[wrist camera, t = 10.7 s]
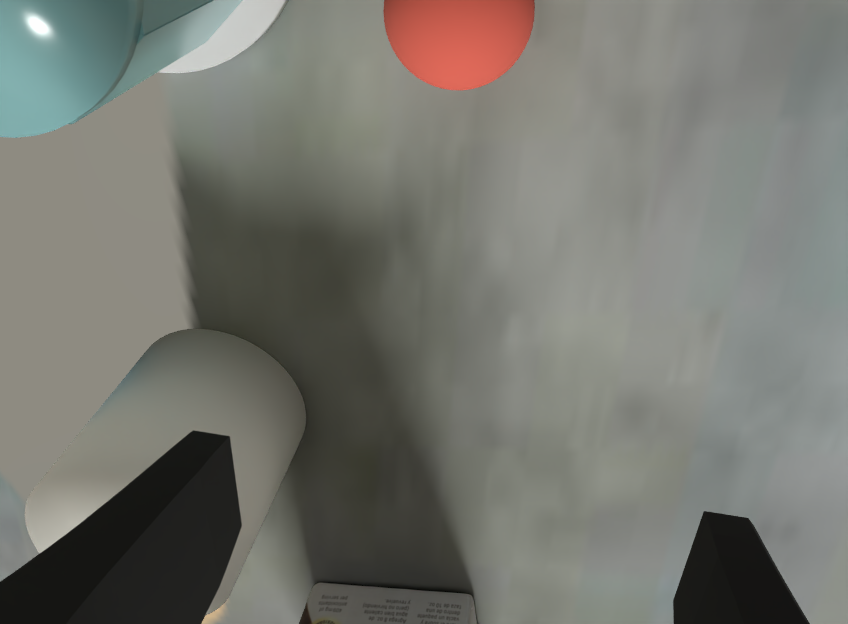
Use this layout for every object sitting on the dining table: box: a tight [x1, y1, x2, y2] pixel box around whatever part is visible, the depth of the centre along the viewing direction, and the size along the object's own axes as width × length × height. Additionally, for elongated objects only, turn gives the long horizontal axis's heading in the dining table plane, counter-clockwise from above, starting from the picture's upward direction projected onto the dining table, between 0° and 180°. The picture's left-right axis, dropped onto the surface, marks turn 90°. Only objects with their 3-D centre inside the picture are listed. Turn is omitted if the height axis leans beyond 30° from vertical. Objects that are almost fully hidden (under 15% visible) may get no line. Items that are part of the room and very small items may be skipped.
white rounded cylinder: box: [25, 329, 306, 615], centre depth 22 cm, size 6×6×6 cm
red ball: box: [384, 0, 535, 90], centre depth 15 cm, size 3×3×3 cm
